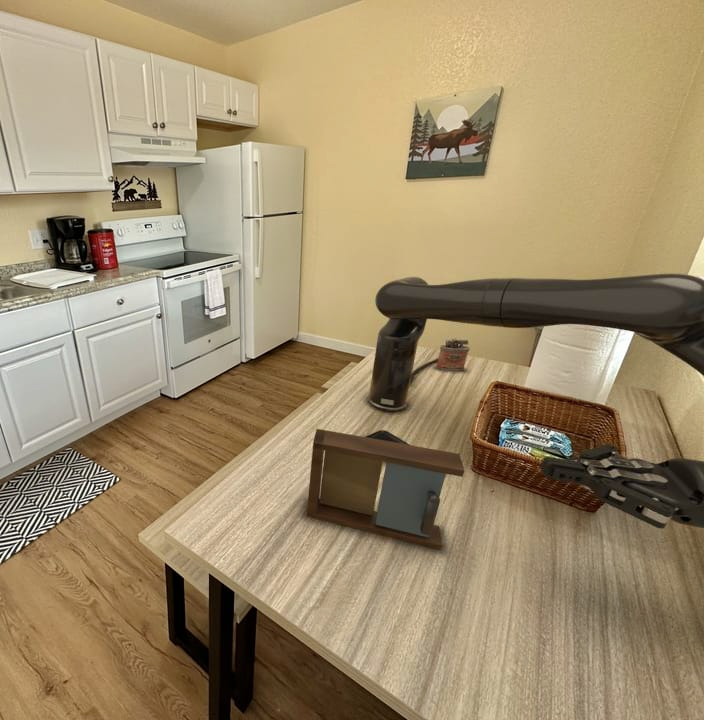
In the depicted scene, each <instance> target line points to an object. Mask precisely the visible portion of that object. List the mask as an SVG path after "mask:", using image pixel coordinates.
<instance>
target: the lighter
mask: <svg viewBox="0 0 704 720" xmlns="http://www.w3.org/2000/svg"><path fill="white" fill-rule="evenodd" d="M469 343H470V341H469V340H468V339H458V338H452V339H446V340H445V344H440V346H439V349H440V350H439V355H438V357H437V358H438V362H436V364H435V369H436V370H438V371H443V372H452V373H453V372H457V373H458V372H464V371H465V366H466V361H467V358H468V353H469V352H470V347H469V346H468V345H469Z"/></svg>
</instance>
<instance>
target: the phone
mask: <svg viewBox="0 0 704 720" xmlns="http://www.w3.org/2000/svg"><path fill="white" fill-rule="evenodd" d="M365 437H367V438H373V439H378V440H384V441H390V442H395V443H401V444H407V445H411V444H409V443H408V442H406V441H404V440H403V439H402V438H400V437H398V436H396V435H395V434H393V433H391V432H389V431H388V430H386V429H380V430H378V431H376V432H372V433H371V434H368V435H366V436H365Z"/></svg>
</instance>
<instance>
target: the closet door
mask: <svg viewBox="0 0 704 720" xmlns="http://www.w3.org/2000/svg"><path fill="white" fill-rule="evenodd" d="M446 476H447V474H445V473H440V472H435V471H429V470H424V469H419V468H414V467H409V466H403V465H398V464H393V463H388V462H385V468H384V473H383V477H382V484H381V489H380V494H379V499H378V505H377V509H376V511H377V515H376V520H375V524H376V525H379V526H383V527H387V528H391V529H395V530H399V531H403V532H407V533H411V534H416V535H420V536H424V537H429V535H430V534H431V533H432V529H433V526H434V525H435V523H436V518H437V514H438V512H439V507H440V503H441V498H440V497H441V493H442V490H443V487H444V482H445V479H446Z"/></svg>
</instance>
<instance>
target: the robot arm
mask: <svg viewBox="0 0 704 720" xmlns="http://www.w3.org/2000/svg"><path fill="white" fill-rule="evenodd" d="M374 299H375V300H374V303H375V306H376V308H377V310H378V312H379V313H380V314H381V315H382V316H384V317H386V318H387V319H388V320H387V321H386V323H385V324H384V325H382V327H381V328H380V329H379V331H378V333H377V340H376V346H375V353H374V360H373V367H372V372H371V373H372V374H371V379H370V386H369V393H368V395H367V396H368V397H367V402H368V403H369V405H371V406H372V407H373V408H376V409H378V410H381V411H385V412H399V411H403V410H405V408H406V406H407V400H408V394H409V389H410V385H411V383H412V381H413V379H414V376H415V375H416V374H418V373H419V372H420V371H422V370H424V369H425V368H427V367H429V366H431V365H433V364H435V363H436V364H437V363H438V358H439V357H437V358H436V359H433V360H430V361H429V362H426V363H425V364H423V365H421V366H419V367H417V368H416V369H415V370H414V365H415V360H416V354H417V349H418V345H419V340H420V339H421V337H422V335H423V334H424V332H425V328H426V326H427V325H426V324H427V320H438V321H444V322H452V323H460V324H467V325H476V326H477V325H478V326H485V327H497V328H508V329H533V328H543V327H552V326H553V327H554V326H562V325H578V326H579V325H580V326H590V327H591V326H592V327H598V328H599V327H600V328H609V329H615V330H622V331H627V332H632V333H635V334H636V335H637V336H639V337H640V338H641V339H644V340H646V341H648V342H651V343H654V344H655V345H656V346H658V347H659V348H662V349H663V350H665V351H667V352H668V353H669V354H672V355H673V356H675V357H676V358H678V359H679V360H681V361H683V362H684V363H686V364H687V365H688V366H690V367H691V368H693V369H694V370H695V371H697V372H698V373H699V374H701V375H702V376H703V377H704V279H703V278H701V277H698V276H695V275H692V274H685V273H671V272H669V273H655V274H642V275H641V274H640V275H631V276H620V277H607V278H606V277H605V278H593V279H592V278H591V279H589V278H588V279H573V278H572V279H571V278H569V279H568V278H545V277H543V278H535V277H533V278H532V277H531V278H530V277H492V278H479V279H469V280H462V281H456V282H450V283H443V284H429V283H428V282H427V280H425V279H423V278H422V277H419V276H408V277H403V278H399V279H394V280H390V281H388V282H387V283H385V284H384V285H382V286H381V287H380V288H379V289H378V291H377V292H376V295H375V298H374ZM618 450H619V448H618V447H617V446H616V445H614V444H611V443H605V444H603V445H602V444H601V445H599V446H596V447H593V448H590V449H586V450H582V451H580V453H579V456H578V458H577V460H571V459H567V458H566V459H565V458H560V457H555V456H554V457H553V456H544V458H543V459H542V460H541V461H542V462H541V464H540V466H539V469H540V471H541V472H542V474H543V476H544V477H545V478H546V479H552V480H555V481H560V482H564V483H565V482H567V483H570V484H575V485H576V484H577V485H580V487H582V488H583V489H584V490H585V489H586V490H589V491H591V492H593V497H594V498H595V499H597V500H598V501H600V502H602V503H605V504H606V505H609V506H611V507H612V508H615V509H617V510H619V511H621V512H623V513H624V514H628V515H629V516H632V517H633V518H636V519H638V520H640V521H642V522H644V523H646V524H648V525H651V526H652V527H654V528H657V529H660V530H663V529H665V528H666V526H667V525H668V524H669V523H670V520H671V521H673V522H674V523H677V524H681V525H684V526H690V527H695V528H700V529H704V461H703V460H698V459H691V458H685V457H673V458H670V459H667V460H665V461H662V462H658V463H654V462H652V461H651V462H650V461H647V460H644V459H641V458H635V457H632V458H627V457H626V456H623V455H621V454H619V453H618Z"/></svg>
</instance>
